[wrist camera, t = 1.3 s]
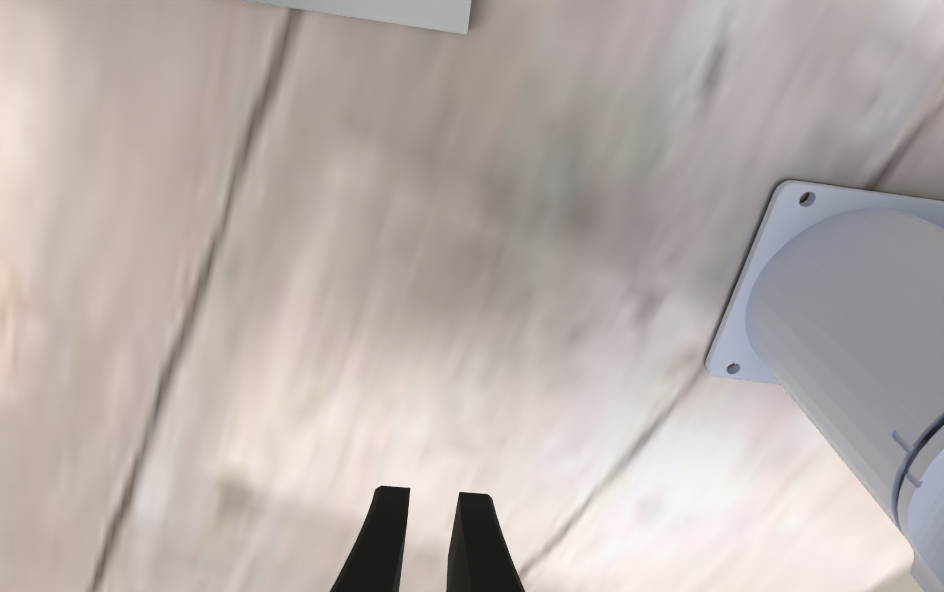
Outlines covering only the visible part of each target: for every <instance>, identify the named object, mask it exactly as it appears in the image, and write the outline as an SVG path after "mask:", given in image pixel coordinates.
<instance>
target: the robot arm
mask: <svg viewBox="0 0 944 592" xmlns="http://www.w3.org/2000/svg"><path fill="white" fill-rule="evenodd" d="M806 192H809V197H808V198H807V200H806V201H804V202H803V203H799V200H800V197H801V196H802V195H803V194H804V193H806ZM733 363H736V364H735V365H734V366H733V367H732V368H727V367H728V366H729V365H730V364H733ZM705 366H706V369H707V370H708V372H709V373H710V374H711V375H712V376H715V377H722V378H731V379H739V380H748V381H757V382H765V383H774V384H781V385H782V386H783V387H784V389H785V390H786V391H787V392H788V393H789V395H790V396H791V397H792V398H793V400H794V401H795V402H796V403H797V405H798V406H799V407H800V408H801V409H802V411H803V412H804V413H805V414H806V416H807V417H808V418H809V419H810V421H811V422H812V423H813V424H814V425H815V427H816V428H817V429H818V430H819V432H820V433H821V434H822V435H823V437H824V438H825V439H826V440H827V441H828V443H829V444H830V445H831V446H832V448H833V449H834V450H835V451H836V453H837V454H838V455H839V456H840V457H841V459H842V460H843V461H844V462H845V464H846V465H847V466H848V467H849V469H850V470H851V471H852V472H853V474H854V475H855V476H856V477H857V478H858V480H859V481H860V482H861V483H862V485H863V486H864V487H865V488H866V490H867V491H868V492H869V493H870V494H871V496H872V497H873V498H874V499H875V501H876V502H877V503H878V504H879V506H880V507H881V508H882V509H883V510H884V512H885V513H886V514H887V515H888V517H889V518H890V519H891V520H892V522H893V523H894V524H895V525H896V526H897V528H898V529H899V530H900V531H901V533H902V534H903V535H904V536H905V538H906V539H907V540H908V542H909V544H910V545H911V547H912V549H913V551H914V563H913V565H912V567H911V570H910V573H911V575H912V576H913V577H914V579H915V580H916V581H917V583H918V584H919V585H920V587H921V588H922V589H923V590H924V591H925V592H944V201H940V200H933V199H926V198H918V197H911V196H904V195H897V194H890V193H883V192H876V191H869V190H861V189H854V188H847V187H840V186H833V185H826V184H819V183H812V182H804V181H797V180H788V181H785V182H783V183H781V184H780V185H779V186H778V187H777V188H776V190H775V192H774V194H773V196H772V199H771V201H770V203H769V206H768V208H767V211H766V213H765V216H764V218H763V221H762V223H761V226H760V228H759V231H758V233H757V236H756V238H755V240H754V243H753V245H752V248H751V250H750V253H749V255H748V258H747V260H746V263H745V265H744V268H743V270H742V273H741V275H740V277H739V280H738V282H737V285H736V287H735V290H734V292H733V295H732V297H731V300H730V302H729V305H728V307H727V310H726V312H725V314H724V317H723V319H722V322H721V324H720V327H719V329H718V332H717V334H716V337H715V339H714V342H713V344H712V347H711V349H710V351H709V354H708V356H707V359H706V362H705ZM409 496H410V488H404V487H391V486H380V487H378V488H377V489H375V492H374V496H373V500H372V503H371V506H370V509H369V511H368V514H367V517H366V519H365V522H364V524H363V526H362V529H361V531H360V533H359V535H358V538H357V540H356V542H355V544H354V546H353V548H352V550H351V552H350V554H349V556H348V558H347V560H346V562H345V564H344V566H343V568H342V570H341V572H340V574H339V576H338V578H337V580H336V581H335V583H334V585H333V587H332V588H331V590H330V592H399V586H400V577H401V569H402V561H403V552H404V544H405V535H406V527H407V518H408V507H409ZM446 592H525V590H524V588H523V585H522V583H521V581H520V578H519V576H518V574H517V571H516V569H515V566H514V564H513V561H512V559H511V556H510V553H509V551H508V548H507V545H506V542H505V540H504V537H503V534H502V531H501V528H500V525H499V522H498V519H497V515H496V512H495V508H494V504H493V500H492V498H491V497H490V496H489V495H488V494H479V493H466V492H459V497H458V503H457V508H456V514H455V520H454V525H453V531H452V537H451V542H450V548H449V554H448V569H447V591H446Z"/></svg>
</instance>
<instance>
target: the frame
mask: <svg viewBox="0 0 944 592" xmlns="http://www.w3.org/2000/svg"><path fill="white" fill-rule="evenodd" d="M243 1H250V2H257V3H263V4H270V5H276V6H283V7H289V8H296V9H303V10H309V11H316V12H322V13H329V14H335V15H342V16H349V17H355V18H362V19H368V20H375V21H381V22H388V23H395V24H401V25H408V26H414V27H421V28H427V29H434V30H441V31H447V32H454V33H460V34H467V33H468V25H469V17H470V9H471V0H243Z"/></svg>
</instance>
